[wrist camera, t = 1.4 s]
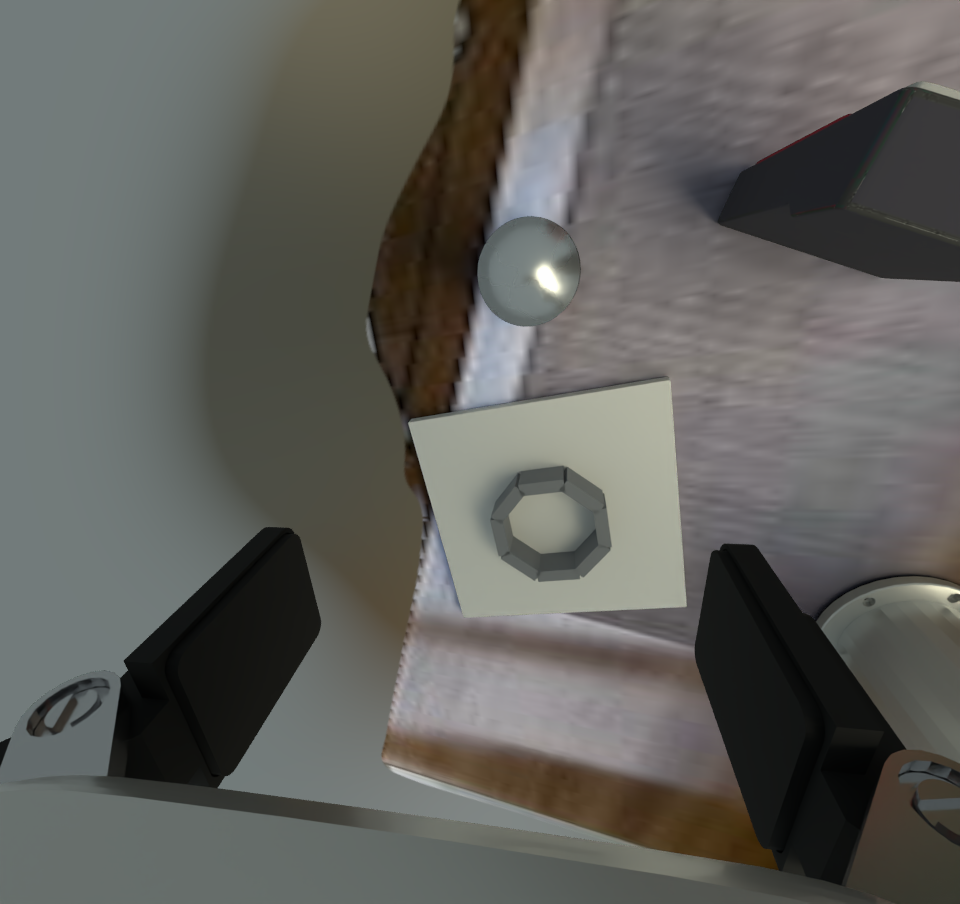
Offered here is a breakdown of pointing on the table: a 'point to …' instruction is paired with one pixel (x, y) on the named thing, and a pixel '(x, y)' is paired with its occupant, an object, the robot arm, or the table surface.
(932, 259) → the upright black box
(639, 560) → the holder
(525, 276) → the piston
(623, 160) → the table surface
